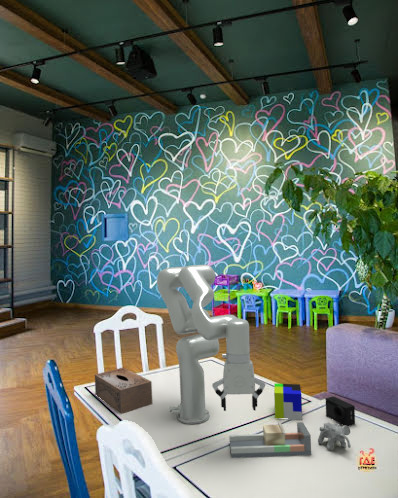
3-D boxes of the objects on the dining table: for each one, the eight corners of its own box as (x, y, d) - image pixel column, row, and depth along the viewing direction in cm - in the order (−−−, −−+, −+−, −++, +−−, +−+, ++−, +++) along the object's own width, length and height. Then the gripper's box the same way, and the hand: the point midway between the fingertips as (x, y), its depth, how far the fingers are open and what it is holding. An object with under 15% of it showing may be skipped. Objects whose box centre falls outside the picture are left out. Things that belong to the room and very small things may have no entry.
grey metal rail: (231, 457, 122) (231, 448, 122) (229, 442, 131) (229, 434, 131) (311, 454, 122) (310, 446, 122) (303, 440, 131) (303, 432, 131)
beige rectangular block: (267, 451, 122) (266, 433, 122) (262, 437, 131) (262, 421, 131) (286, 450, 122) (285, 433, 122) (280, 437, 131) (279, 420, 131)
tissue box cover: (95, 396, 177) (94, 374, 177) (124, 388, 186) (123, 367, 186) (121, 414, 157) (120, 390, 156) (152, 404, 165) (151, 381, 165)
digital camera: (323, 416, 148) (322, 398, 148) (334, 413, 150) (333, 395, 150) (343, 428, 139) (343, 408, 138) (355, 424, 141) (354, 405, 141)
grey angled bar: (304, 451, 122) (304, 435, 122) (297, 437, 131) (297, 422, 131) (311, 451, 122) (310, 435, 122) (303, 436, 131) (303, 422, 131)
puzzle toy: (302, 420, 146) (301, 394, 145) (275, 419, 148) (274, 393, 147) (300, 409, 155) (299, 384, 155) (275, 408, 157) (274, 383, 157)
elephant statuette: (330, 437, 133) (328, 415, 133) (363, 449, 123) (361, 425, 124) (314, 447, 127) (311, 424, 127) (347, 460, 118) (345, 435, 118)
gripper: (211, 361, 123) (213, 414, 124) (266, 360, 123) (267, 413, 124) (211, 354, 131) (212, 404, 131) (262, 353, 131) (263, 403, 131)
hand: (239, 408), depth 128 cm, fingers open, 9 cm apart
